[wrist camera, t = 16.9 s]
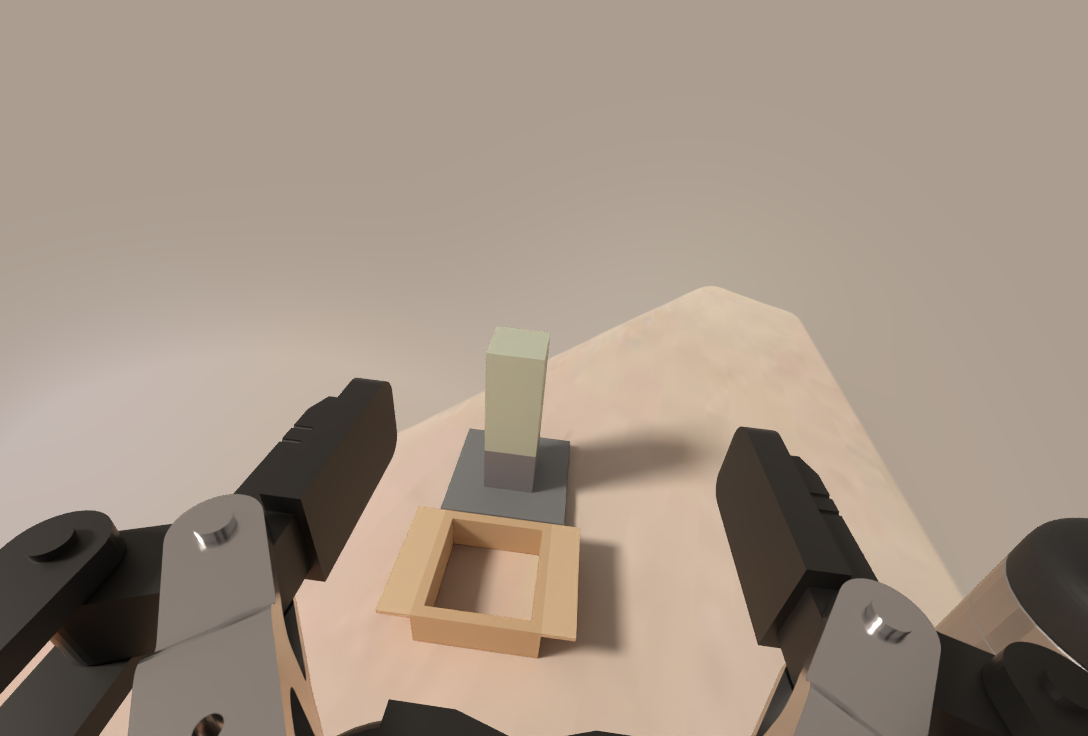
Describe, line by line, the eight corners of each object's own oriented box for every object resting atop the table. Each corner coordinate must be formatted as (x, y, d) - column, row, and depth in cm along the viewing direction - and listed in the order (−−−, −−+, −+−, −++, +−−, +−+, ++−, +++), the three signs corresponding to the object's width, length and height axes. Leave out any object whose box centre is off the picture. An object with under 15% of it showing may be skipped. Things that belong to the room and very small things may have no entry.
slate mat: (568, 447, 55) (569, 441, 54) (562, 530, 45) (564, 524, 44) (469, 435, 55) (469, 428, 55) (441, 514, 45) (440, 507, 44)
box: (537, 459, 51) (550, 332, 43) (532, 492, 47) (545, 360, 38) (493, 453, 51) (497, 326, 43) (483, 486, 47) (486, 353, 39)
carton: (575, 552, 43) (580, 527, 41) (570, 662, 35) (576, 638, 33) (421, 531, 43) (418, 506, 41) (380, 635, 35) (375, 609, 33)
